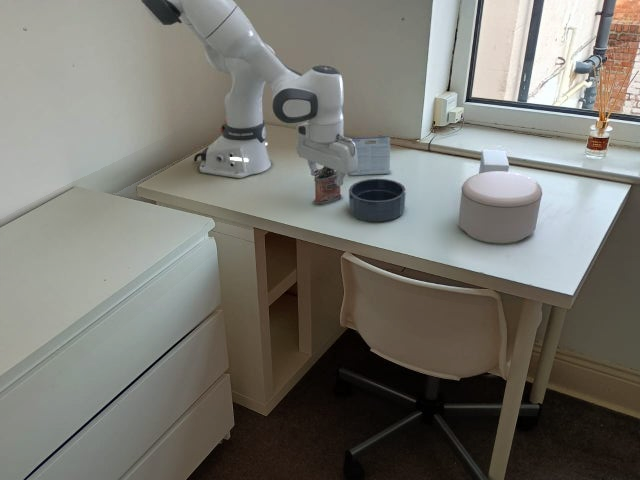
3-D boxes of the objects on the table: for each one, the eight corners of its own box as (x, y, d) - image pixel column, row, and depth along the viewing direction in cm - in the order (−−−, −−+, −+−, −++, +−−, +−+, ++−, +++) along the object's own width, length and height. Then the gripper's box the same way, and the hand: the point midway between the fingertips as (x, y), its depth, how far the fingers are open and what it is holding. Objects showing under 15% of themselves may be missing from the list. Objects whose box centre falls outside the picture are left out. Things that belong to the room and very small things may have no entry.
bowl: (344, 220, 175) (344, 199, 171) (354, 197, 186) (354, 177, 182) (400, 225, 170) (401, 203, 167) (407, 200, 181) (408, 180, 178)
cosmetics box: (504, 202, 176) (509, 164, 170) (478, 201, 177) (483, 164, 171) (501, 185, 184) (506, 149, 178) (476, 185, 186) (480, 149, 180)
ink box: (389, 171, 199) (390, 133, 192) (389, 174, 197) (391, 136, 190) (349, 172, 200) (350, 135, 194) (350, 175, 198) (350, 138, 192)
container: (462, 209, 175) (467, 166, 168) (536, 216, 168) (544, 172, 162) (452, 241, 161) (457, 197, 155) (533, 250, 155) (541, 204, 148)
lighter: (319, 206, 183) (318, 172, 177) (312, 202, 185) (311, 168, 180) (343, 198, 185) (343, 164, 180) (336, 194, 188) (336, 161, 182)
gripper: (364, 136, 168) (362, 187, 176) (309, 119, 183) (310, 167, 190) (345, 143, 165) (345, 194, 173) (291, 125, 180) (293, 173, 187)
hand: (326, 180), depth 182 cm, fingers open, 8 cm apart
